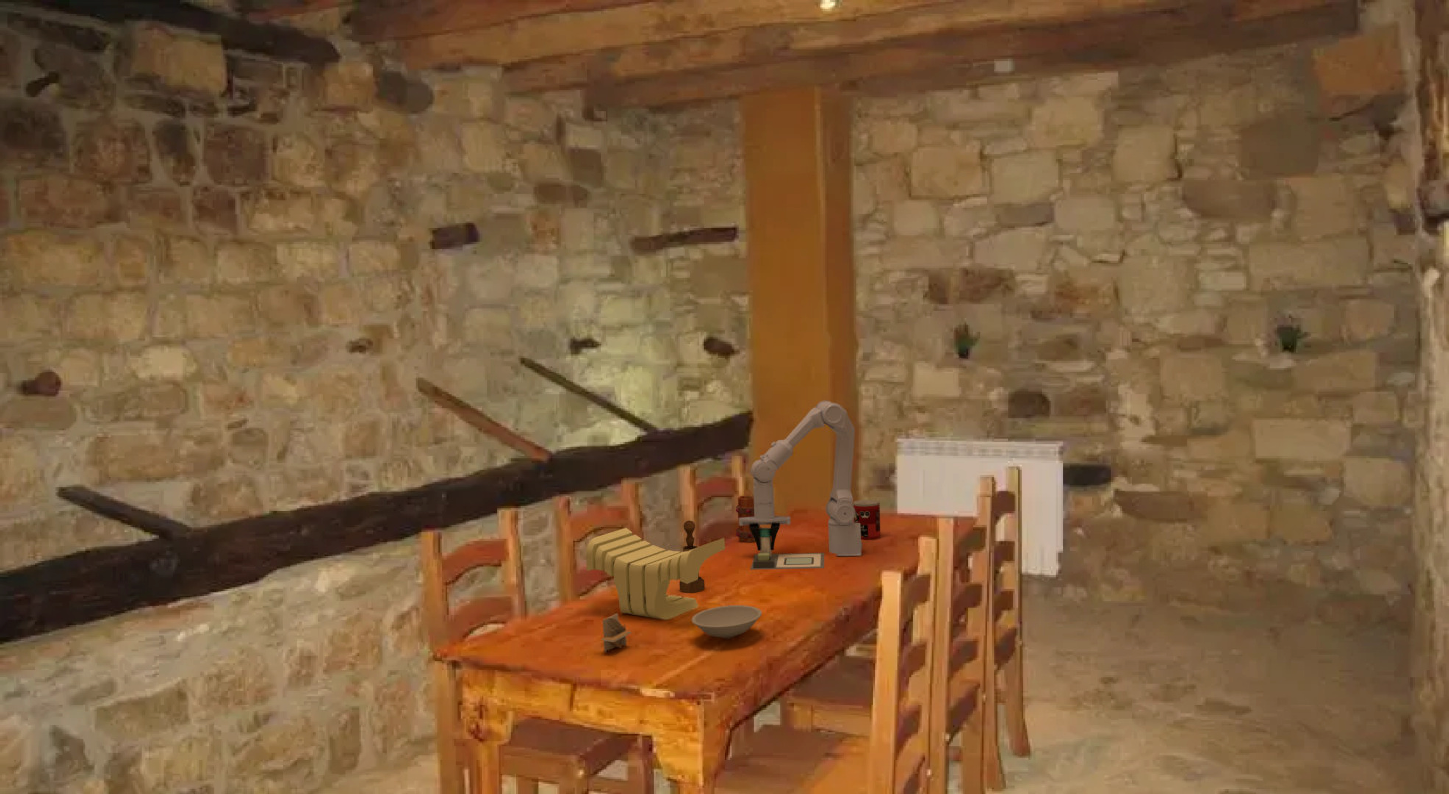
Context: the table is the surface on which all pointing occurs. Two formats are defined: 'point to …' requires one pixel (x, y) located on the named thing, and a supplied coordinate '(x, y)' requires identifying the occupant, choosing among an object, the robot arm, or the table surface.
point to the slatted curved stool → (647, 572)
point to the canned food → (868, 518)
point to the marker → (765, 540)
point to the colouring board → (790, 561)
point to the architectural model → (613, 633)
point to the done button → (763, 557)
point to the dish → (727, 620)
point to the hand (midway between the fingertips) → (765, 549)
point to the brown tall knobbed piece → (689, 529)
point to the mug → (745, 510)
